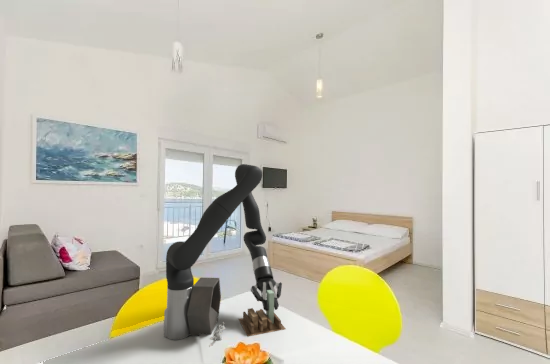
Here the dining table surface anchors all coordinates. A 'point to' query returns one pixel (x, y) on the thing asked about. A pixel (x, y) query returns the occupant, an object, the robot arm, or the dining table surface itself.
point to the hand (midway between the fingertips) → (271, 309)
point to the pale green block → (270, 305)
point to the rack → (260, 325)
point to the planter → (204, 306)
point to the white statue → (217, 333)
